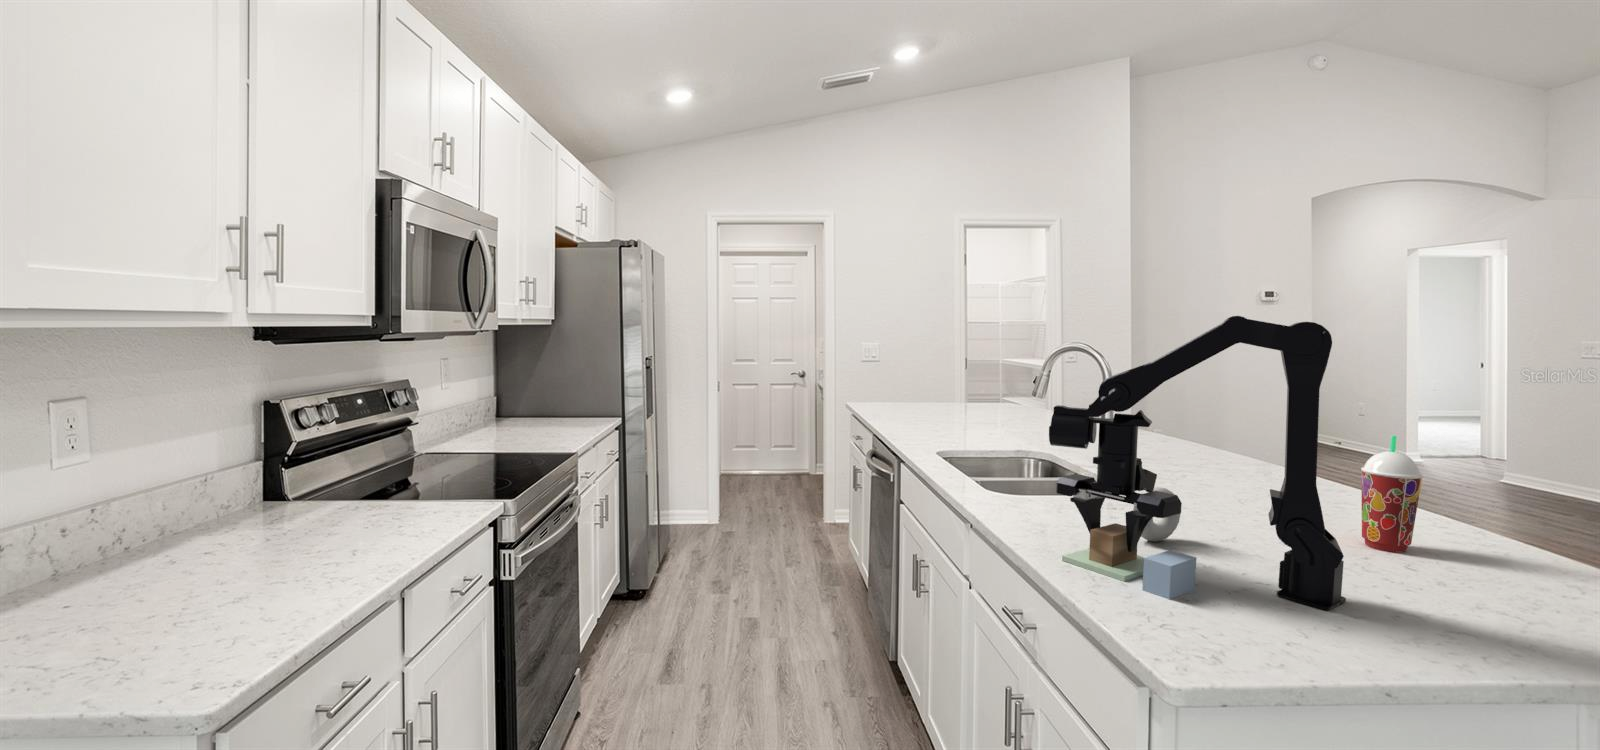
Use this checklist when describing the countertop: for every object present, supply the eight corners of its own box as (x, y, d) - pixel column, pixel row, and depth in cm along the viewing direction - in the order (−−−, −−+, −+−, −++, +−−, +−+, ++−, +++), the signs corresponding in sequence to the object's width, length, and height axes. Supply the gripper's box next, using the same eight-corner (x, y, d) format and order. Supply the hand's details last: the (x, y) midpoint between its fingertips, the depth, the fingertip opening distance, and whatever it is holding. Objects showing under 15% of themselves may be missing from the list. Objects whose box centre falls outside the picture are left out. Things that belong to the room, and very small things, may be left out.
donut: (1141, 547, 124) (1144, 491, 123) (1126, 541, 127) (1128, 486, 127) (1183, 541, 128) (1186, 487, 127) (1167, 535, 131) (1170, 482, 130)
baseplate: (1163, 567, 114) (1163, 563, 114) (1124, 581, 108) (1124, 576, 107) (1101, 549, 123) (1101, 544, 123) (1062, 560, 117) (1062, 555, 117)
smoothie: (1429, 555, 121) (1439, 440, 120) (1380, 554, 121) (1389, 439, 120) (1390, 540, 130) (1398, 432, 128) (1344, 539, 130) (1351, 432, 128)
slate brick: (1194, 590, 105) (1196, 557, 104) (1169, 600, 101) (1170, 566, 100) (1168, 581, 108) (1169, 549, 108) (1142, 591, 104) (1143, 558, 104)
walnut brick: (1136, 559, 115) (1138, 529, 115) (1111, 567, 111) (1113, 536, 111) (1114, 552, 119) (1115, 523, 118) (1089, 559, 115) (1090, 529, 114)
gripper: (1202, 456, 110) (1197, 553, 112) (1095, 439, 126) (1091, 524, 127) (1163, 463, 104) (1158, 566, 105) (1055, 444, 120) (1052, 534, 121)
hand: (1113, 546), depth 115 cm, fingers open, 6 cm apart
